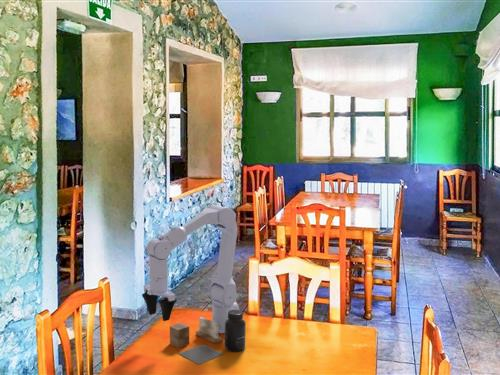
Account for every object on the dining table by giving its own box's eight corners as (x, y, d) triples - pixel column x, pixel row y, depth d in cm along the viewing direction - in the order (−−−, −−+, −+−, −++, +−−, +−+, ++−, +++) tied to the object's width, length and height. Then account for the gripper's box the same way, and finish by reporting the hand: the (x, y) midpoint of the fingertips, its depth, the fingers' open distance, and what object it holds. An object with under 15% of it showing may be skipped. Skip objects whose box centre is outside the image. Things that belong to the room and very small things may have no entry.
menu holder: (195, 334, 176) (195, 317, 176) (202, 332, 178) (202, 315, 178) (215, 343, 169) (215, 325, 169) (221, 340, 171) (221, 323, 171)
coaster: (202, 344, 168) (202, 344, 168) (223, 354, 161) (223, 353, 161) (178, 353, 161) (178, 353, 161) (198, 364, 154) (198, 363, 154)
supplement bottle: (243, 353, 162) (243, 316, 161) (222, 351, 163) (222, 315, 162) (247, 344, 169) (247, 309, 167) (227, 342, 170) (227, 307, 169)
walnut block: (180, 339, 172) (180, 322, 171) (189, 343, 169) (189, 326, 168) (169, 343, 169) (169, 326, 168) (178, 347, 166) (178, 330, 165)
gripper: (135, 274, 167) (136, 314, 168) (161, 283, 156) (162, 326, 158) (153, 269, 172) (154, 308, 173) (180, 279, 161) (180, 320, 163)
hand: (159, 317), depth 166 cm, fingers open, 7 cm apart
